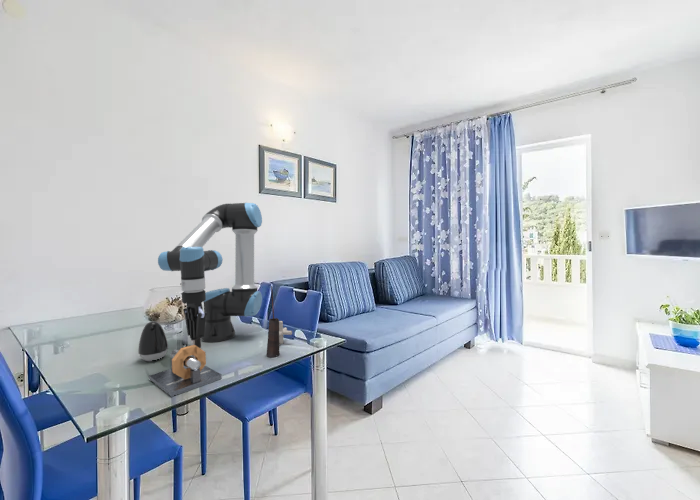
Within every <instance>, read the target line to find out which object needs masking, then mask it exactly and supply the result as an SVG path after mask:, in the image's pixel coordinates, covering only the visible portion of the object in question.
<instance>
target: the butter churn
mask: <svg viewBox="0 0 700 500" xmlns="http://www.w3.org/2000/svg"><path fill="white" fill-rule="evenodd" d="M270 293H271V307H272V308H271V309H272V318H269V320H268V329H267V330H268V332H267V343H266V346H267V347H266V356H267V358H275V357H278V356H279V355H280V345H281V344H280V343H279V321H280V319H279V318H277V317H275V312H274V310H275V309H274V296H273V294H274V292H273V286H272V285H271V286H270Z"/></svg>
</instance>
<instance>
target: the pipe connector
mask: <svg viewBox="0 0 700 500" xmlns="http://www.w3.org/2000/svg"><path fill="white" fill-rule="evenodd" d="M284 335H286V336H287V335H288V336H292V335H293V331H292V330H288V328H287V327H284V323H283V321H282V320H279V343H280V344H279V345H284Z"/></svg>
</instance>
